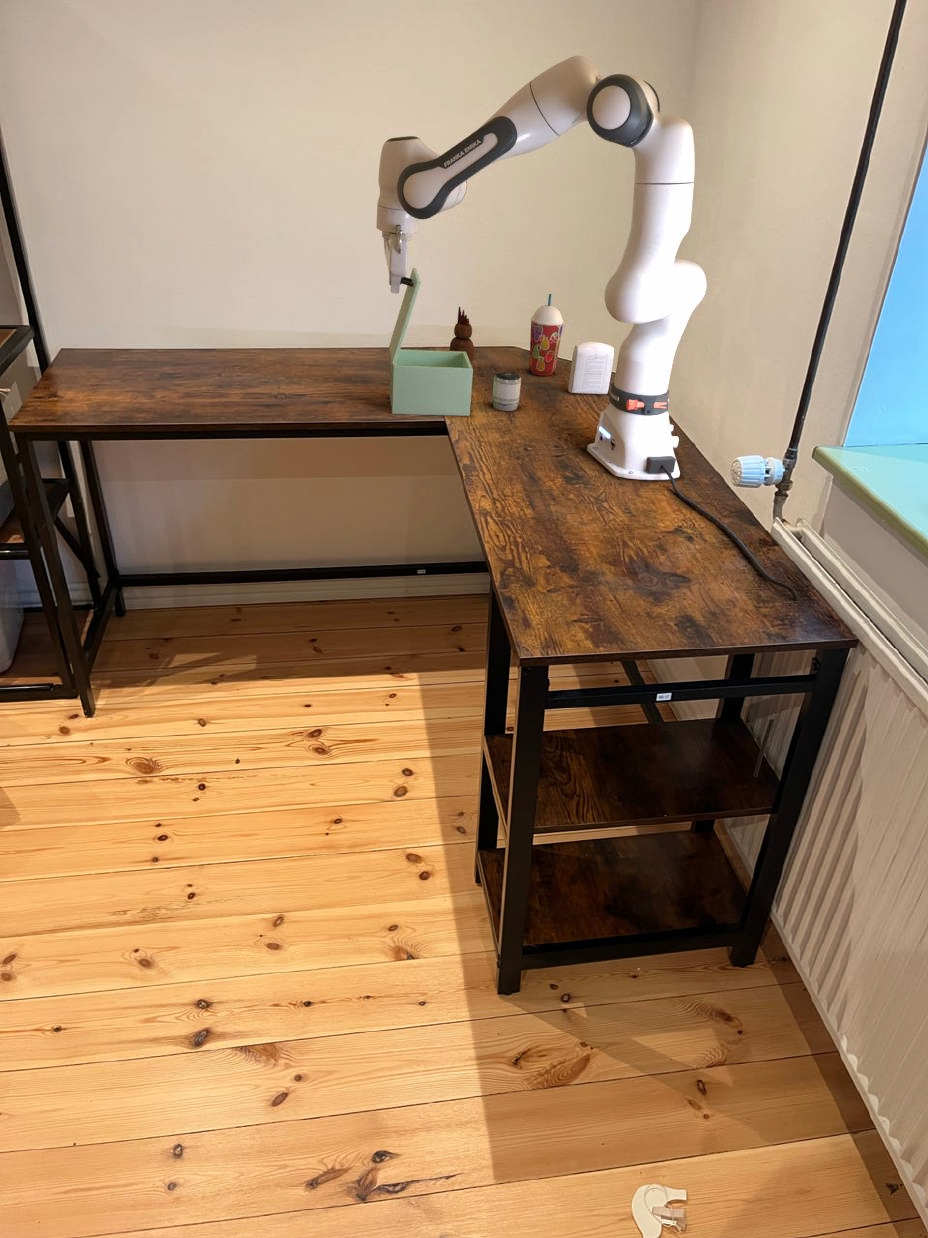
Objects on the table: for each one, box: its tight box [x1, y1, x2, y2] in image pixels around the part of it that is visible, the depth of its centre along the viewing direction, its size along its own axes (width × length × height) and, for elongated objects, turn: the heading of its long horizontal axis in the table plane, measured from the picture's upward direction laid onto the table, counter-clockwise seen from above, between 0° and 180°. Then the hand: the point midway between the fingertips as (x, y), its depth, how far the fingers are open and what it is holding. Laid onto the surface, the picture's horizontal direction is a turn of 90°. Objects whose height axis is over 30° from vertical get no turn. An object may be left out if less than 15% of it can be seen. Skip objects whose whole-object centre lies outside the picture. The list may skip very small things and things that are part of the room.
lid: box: [388, 267, 422, 365], centre depth 211 cm, size 18×14×5 cm
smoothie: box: [528, 293, 565, 377], centre depth 246 cm, size 8×8×20 cm
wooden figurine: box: [449, 306, 475, 364], centre depth 247 cm, size 7×6×15 cm
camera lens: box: [491, 371, 522, 412], centre depth 224 cm, size 6×6×8 cm
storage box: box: [388, 348, 474, 417], centre depth 220 cm, size 18×14×11 cm
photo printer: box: [567, 341, 615, 395], centre depth 237 cm, size 10×4×12 cm, turn 98°
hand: (393, 288), depth 209 cm, fingers closed on lid, 5 cm apart
